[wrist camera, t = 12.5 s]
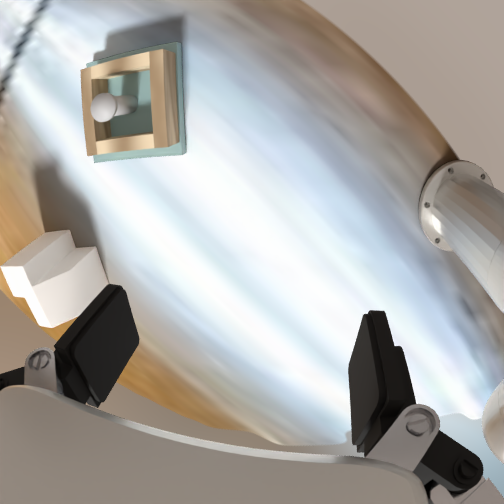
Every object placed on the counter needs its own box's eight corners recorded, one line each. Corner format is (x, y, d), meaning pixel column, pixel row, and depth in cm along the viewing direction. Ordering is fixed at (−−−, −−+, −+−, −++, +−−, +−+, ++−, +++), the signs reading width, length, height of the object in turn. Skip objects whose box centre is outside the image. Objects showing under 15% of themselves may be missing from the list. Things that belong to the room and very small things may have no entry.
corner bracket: (45, 232, 44) (0, 266, 33) (90, 227, 42) (42, 266, 32) (64, 284, 49) (27, 323, 38) (109, 285, 47) (72, 331, 36)
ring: (175, 53, 28) (163, 48, 25) (179, 142, 33) (167, 147, 30) (97, 70, 29) (80, 69, 26) (103, 150, 35) (87, 156, 31)
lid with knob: (181, 43, 29) (154, 32, 22) (186, 152, 35) (161, 166, 29) (92, 64, 30) (56, 62, 24) (100, 160, 37) (66, 175, 30)
